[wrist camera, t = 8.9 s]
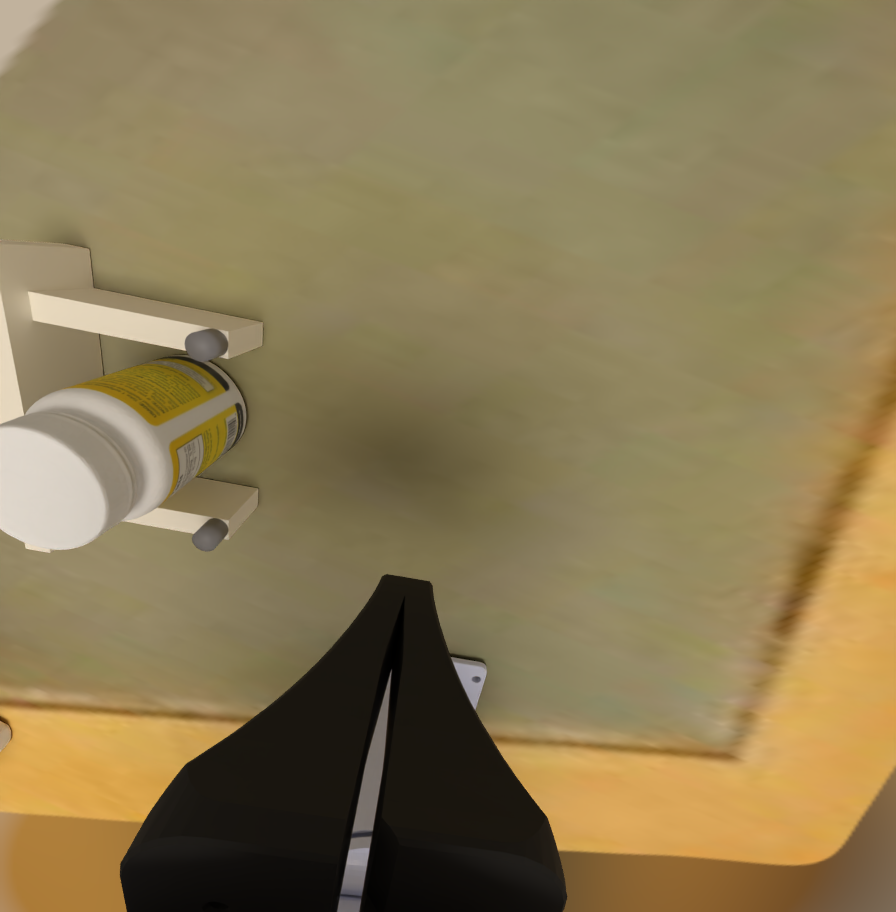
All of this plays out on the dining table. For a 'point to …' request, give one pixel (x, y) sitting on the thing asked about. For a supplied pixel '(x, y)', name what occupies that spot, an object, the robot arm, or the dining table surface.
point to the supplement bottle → (113, 449)
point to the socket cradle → (79, 359)
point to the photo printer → (4, 735)
